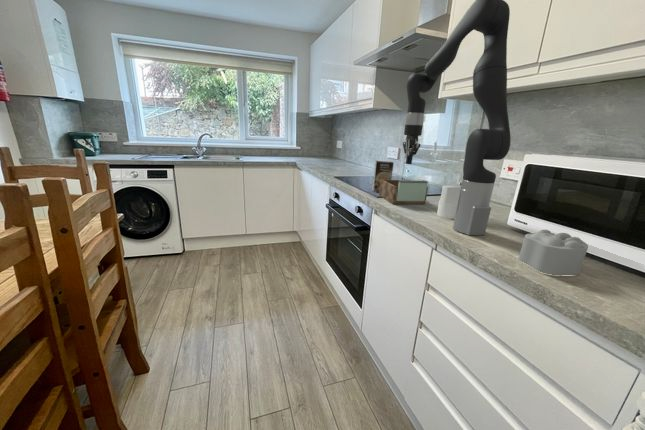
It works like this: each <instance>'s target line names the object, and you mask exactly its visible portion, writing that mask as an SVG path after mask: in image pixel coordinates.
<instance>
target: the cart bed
mask: <svg viewBox="0 0 645 430" xmlns="http://www.w3.org/2000/svg"><path fill="white" fill-rule="evenodd" d="M399 180H400V179H391V180H380V187H379V192H378V196H379V195H380V196H379V197H381V196H382V197H383V198H382V197H381V198H382V199H384V200H385V201H387V202H388V203H390V204H391V205H426V203H427V202H426V201H427V196H428V190H429V187H428V186H427V189H426V195H425V201H397V192H398V184H399ZM405 180H406V181H412V179H411V180H410V179H405Z"/></svg>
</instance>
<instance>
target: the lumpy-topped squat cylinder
mask: <svg viewBox="0 0 645 430" xmlns="http://www.w3.org/2000/svg"><path fill="white" fill-rule="evenodd" d="M588 250H589V246H588V244H587V243H586V242H585V241H583V239H581V238H580V237H579V236H578V237H577V236H571V234H570V233H569V234H568V232H567V233H566V232H559V233H557V234H555V233H554V232H551V231H550V230H548V229H541V230H539V231H538V232H535V233H526V234H525V235H524V238H523V241H522V245H521V249H520V253H519V256H518V259H519V260H520V261H522V262H524V263H526V264H528V265H530V266H531V267H533V268H534V269H536V270H538V271H540V272H543V273H547V274H552V275H577V274H578V273H579V274H580V272H581V269H582V266H583V263H584V260H585V257H586V254H587V253H588ZM579 274H578V275H579ZM578 275H577V276H578Z"/></svg>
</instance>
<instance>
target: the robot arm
mask: <svg viewBox="0 0 645 430" xmlns="http://www.w3.org/2000/svg"><path fill="white" fill-rule="evenodd" d="M510 14H511V13H510V5H509V4H508V3H507V1H505V0H475V1H474V2H472V3H471V5H470V7H469V8H468V9H467V10H466V12H465V13H464V15H463V16H462V18H461V19H460V21H459V22H458V24H457V25H456V26H455V28H454V29H453V31H452V32H451V34H450V35H449V37H448V38H447V39H446V41H445V42H444V44H443V45H442V46H441V47H440V48H439V50H438V51H436V53H435V54H434V55H433V56H432V57H431V58H430V59H429V61H427V63H426V64H425V66H424V73H425V74H424V73H418V72H414V73H411V75H409V77H408V78H407V81H406V93H407V94H406V95H407V103H408V105H407V111H406V117H405V124H404V130H403V131H404V132H403V135H404V136H406V138H405V142H404V141H403V142H402V146H403V153H404V154H405V156H406V159H405V164H407V165H412V163H413V156H415V155H417V152H418V151H419V149H420V148H421V143H419V137H420V136H422V133H423V127H424V120H425V119H424V118H425V108H426V100H425V99H424V98H422V97H421V95H420V93H421V94H424V93H427V92H429V91H431V90H432V88H433V87H434V85H435V84H436V83H437V80H438V78H440V76H441V75H442V74H443V73H444V72H445V71H446V70H447V69H448V68H450V66H451V65H452V63H453V62H454V61H455V59H456V58H457V54H458V51H459V48H460V46H461V44H462V42H463V40H464V39H465V38H466V37H467V36H468V34H470V33H471V32H472V31H476V32H478V33H481V34H483V37H484V38H483V39H484V40H483V41H484V43H483V44H484V47H483V48H484V49H483V52H482V55H481V56H480V58H479V59H478V60H477V63H476V65H475V66H474V69H473V72H472V93H473V96H474V98H475V100H476V101H477V103H478V106H479V107H480V108H481V110H482V111H483V112H484V114H485V116H486V118H487V121H488V122H487V123H488V128H477V129H475V130H472V132H471V133H470V134H469V136H468V138H467V142H466V146H465V151H464V152H465V154H464V160H463V168H462V171H463V172H462V173H463V175H462V179H461V185H460V186H461V189H460V194H459V199H458V204H457V209H456V215H455V219H453V220H454V221H453V226H452V228H453V230H454V231H456V232H459V233H462V234H464V235H465V234H466V235H468V236H485V235H486V231H487V226H488V223H489V218H490V214H491V210H492V207H491V206H490V205H491V199H492V195H493V191H494V186H495V182H496V178H497V175H496V173H495V172H493V171H491V170H489V169H487V168H485V166H484V160H485V161H486V160H487V161H489V160H490V161H499V160H503V159H504V158H506V156H507V155H508V153H509V151H510V147H511V129H510V121H509V113H508V100H507V99H508V96H507V95H508V94H507V93H508V91H507V89H508V88H507V87H508V66H507V65H508V63H507V61H508V60H507V58H508V57H507V53H508V51H507V49H508V32H509V25H510V16H511V15H510Z"/></svg>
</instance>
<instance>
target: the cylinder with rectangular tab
mask: <svg viewBox="0 0 645 430" xmlns="http://www.w3.org/2000/svg"><path fill="white" fill-rule="evenodd" d="M460 189H461V185H442V189H441V192H440V193H441V194H440V198H439V201H438V206H437V213H436V215H437V216H439V217H441V218H444V219H448V220H449V219H450V220H455V215H456V209H457V204H458V199H459V194H460Z"/></svg>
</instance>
